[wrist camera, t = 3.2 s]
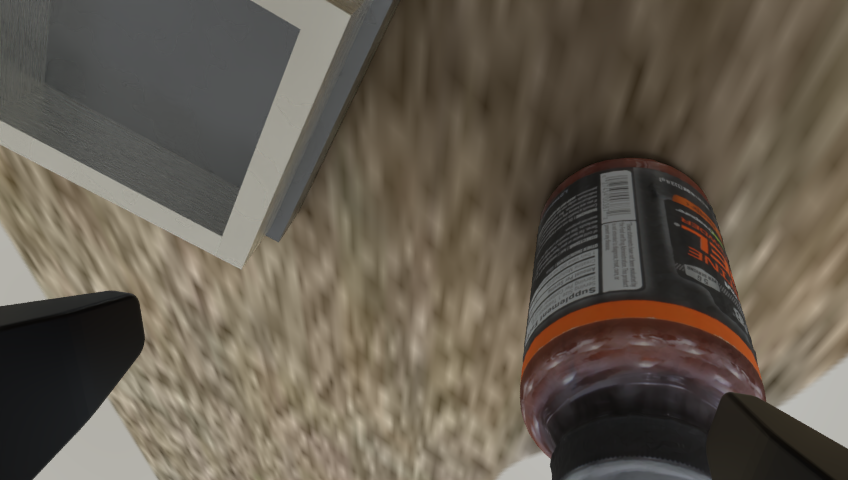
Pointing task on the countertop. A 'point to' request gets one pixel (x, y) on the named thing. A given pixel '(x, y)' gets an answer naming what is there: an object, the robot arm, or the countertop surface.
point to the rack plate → (186, 104)
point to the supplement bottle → (631, 326)
